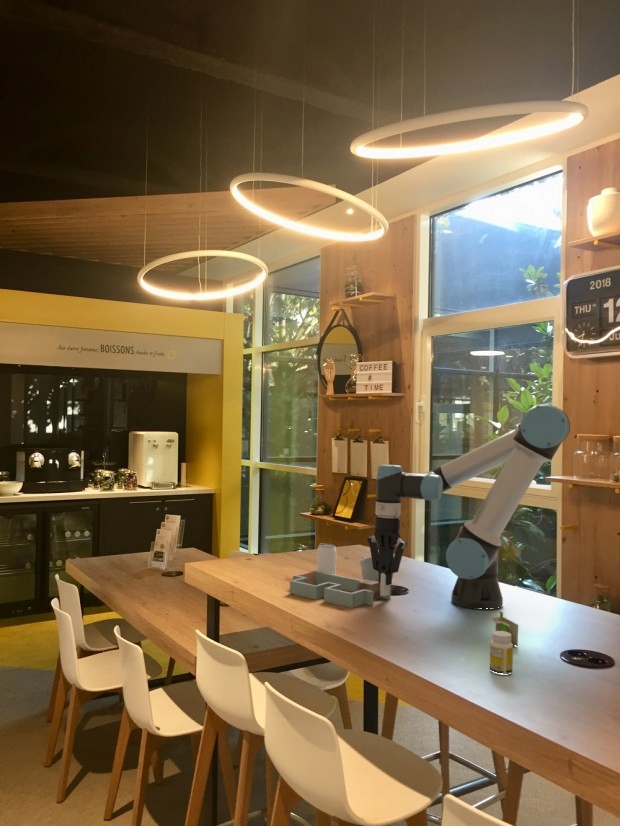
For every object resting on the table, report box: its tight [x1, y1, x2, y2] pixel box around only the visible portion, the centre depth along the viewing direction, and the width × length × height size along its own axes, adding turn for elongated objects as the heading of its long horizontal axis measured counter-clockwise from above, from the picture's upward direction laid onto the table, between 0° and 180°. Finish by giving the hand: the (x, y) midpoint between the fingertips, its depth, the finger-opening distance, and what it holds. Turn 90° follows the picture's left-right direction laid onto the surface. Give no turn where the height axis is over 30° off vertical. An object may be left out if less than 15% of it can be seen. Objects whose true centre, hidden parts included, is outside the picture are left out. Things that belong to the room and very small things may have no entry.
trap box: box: [289, 570, 392, 609], centre depth 214 cm, size 30×18×4 cm, turn 53°
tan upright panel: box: [489, 611, 519, 647], centre depth 172 cm, size 4×7×8 cm, turn 15°
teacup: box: [360, 556, 394, 582], centre depth 234 cm, size 14×11×8 cm
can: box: [315, 543, 337, 575], centre depth 234 cm, size 6×6×12 cm
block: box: [357, 579, 381, 601], centre depth 213 cm, size 5×5×5 cm
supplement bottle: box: [489, 630, 514, 674], centre depth 151 cm, size 5×5×8 cm
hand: (384, 595), depth 209 cm, fingers closed
